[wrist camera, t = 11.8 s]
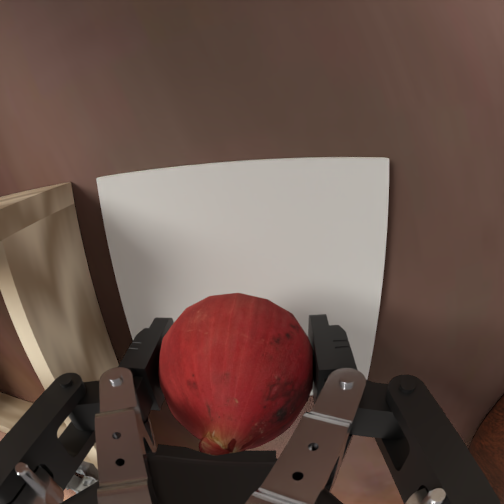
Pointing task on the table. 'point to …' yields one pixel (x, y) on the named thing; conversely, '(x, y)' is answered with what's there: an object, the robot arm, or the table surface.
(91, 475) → the egg carton
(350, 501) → the table surface
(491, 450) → the wooden bowl
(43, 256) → the frame
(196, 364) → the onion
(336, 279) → the grey mat
